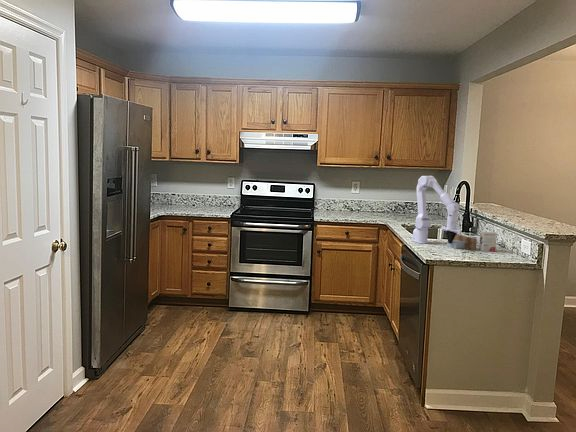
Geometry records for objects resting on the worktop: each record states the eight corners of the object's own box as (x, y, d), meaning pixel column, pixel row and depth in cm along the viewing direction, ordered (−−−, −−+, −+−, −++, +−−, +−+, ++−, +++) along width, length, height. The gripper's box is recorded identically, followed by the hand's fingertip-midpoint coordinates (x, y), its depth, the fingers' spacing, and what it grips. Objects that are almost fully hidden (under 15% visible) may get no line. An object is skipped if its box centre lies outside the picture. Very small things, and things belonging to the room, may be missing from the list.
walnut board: (447, 243, 312) (448, 233, 311) (451, 243, 314) (451, 233, 313) (472, 250, 295) (473, 238, 294) (475, 249, 296) (476, 238, 296)
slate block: (446, 246, 303) (447, 240, 302) (455, 246, 307) (456, 240, 306) (455, 249, 297) (455, 242, 296) (464, 248, 301) (464, 242, 300)
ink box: (492, 249, 298) (493, 231, 297) (495, 251, 293) (497, 232, 292) (478, 249, 298) (480, 230, 296) (481, 251, 293) (483, 232, 291)
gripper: (438, 220, 302) (436, 241, 304) (456, 223, 289) (454, 245, 291) (446, 220, 305) (444, 240, 307) (464, 223, 292) (462, 245, 294)
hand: (450, 243), depth 299 cm, fingers closed, pressing on slate block
